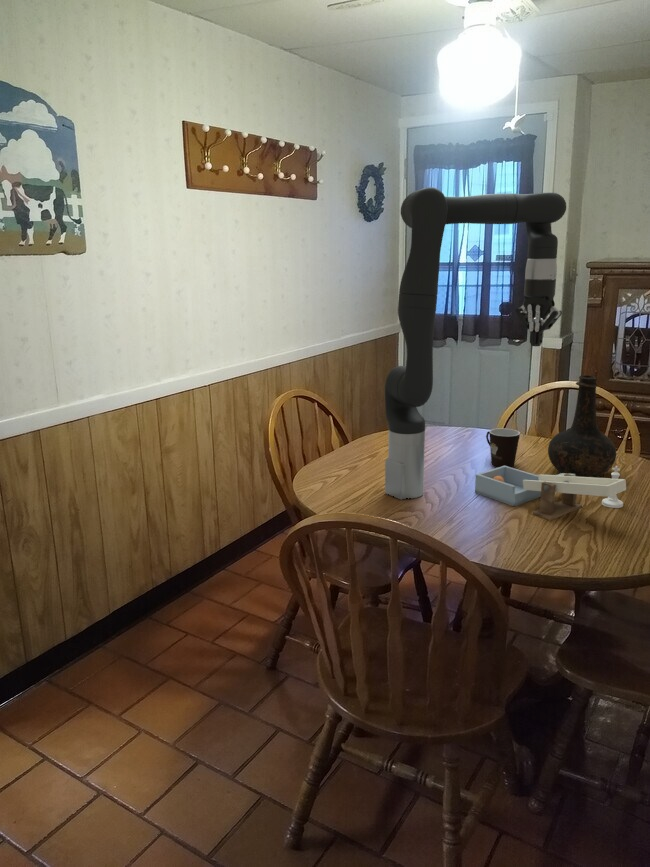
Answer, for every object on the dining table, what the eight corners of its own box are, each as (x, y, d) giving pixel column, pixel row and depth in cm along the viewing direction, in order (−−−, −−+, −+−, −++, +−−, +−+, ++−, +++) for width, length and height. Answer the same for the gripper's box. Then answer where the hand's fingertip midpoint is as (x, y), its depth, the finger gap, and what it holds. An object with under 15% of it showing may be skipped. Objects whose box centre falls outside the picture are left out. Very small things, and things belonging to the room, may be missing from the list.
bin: (514, 506, 164) (515, 487, 163) (474, 492, 174) (475, 474, 172) (543, 495, 171) (544, 477, 169) (503, 482, 180) (504, 465, 179)
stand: (582, 507, 163) (585, 476, 161) (550, 520, 155) (552, 488, 153) (564, 501, 167) (566, 471, 164) (532, 514, 159) (534, 482, 157)
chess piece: (605, 499, 168) (609, 461, 165) (625, 503, 165) (630, 465, 162) (598, 505, 164) (602, 466, 161) (619, 509, 161) (623, 470, 158)
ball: (498, 478, 172) (488, 476, 174) (499, 490, 172) (489, 488, 175) (506, 475, 174) (496, 473, 176) (507, 487, 174) (497, 485, 177)
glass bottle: (600, 464, 195) (609, 369, 187) (624, 485, 177) (636, 382, 170) (538, 464, 195) (545, 370, 188) (557, 485, 178) (565, 382, 171)
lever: (647, 481, 154) (646, 471, 154) (609, 496, 145) (608, 486, 145) (561, 476, 173) (560, 467, 173) (523, 489, 164) (522, 480, 163)
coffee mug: (521, 469, 191) (523, 436, 188) (491, 469, 191) (492, 436, 188) (511, 457, 202) (513, 425, 199) (482, 457, 202) (484, 425, 200)
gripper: (509, 277, 170) (505, 344, 175) (554, 278, 160) (548, 350, 165) (527, 276, 174) (523, 342, 179) (572, 277, 164) (566, 347, 169)
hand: (535, 345), depth 172 cm, fingers closed
